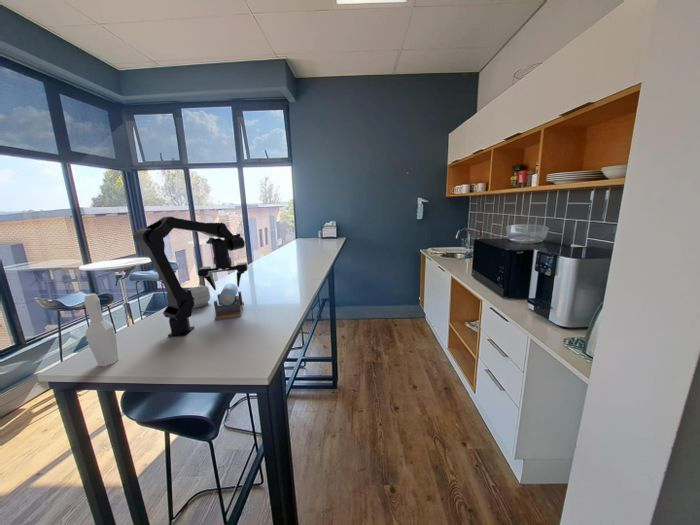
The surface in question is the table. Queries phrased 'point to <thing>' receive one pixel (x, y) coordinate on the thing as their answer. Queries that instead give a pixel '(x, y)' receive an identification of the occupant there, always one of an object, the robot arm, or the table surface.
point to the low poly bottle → (100, 333)
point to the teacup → (200, 295)
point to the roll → (228, 294)
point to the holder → (229, 308)
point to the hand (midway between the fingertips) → (226, 288)
